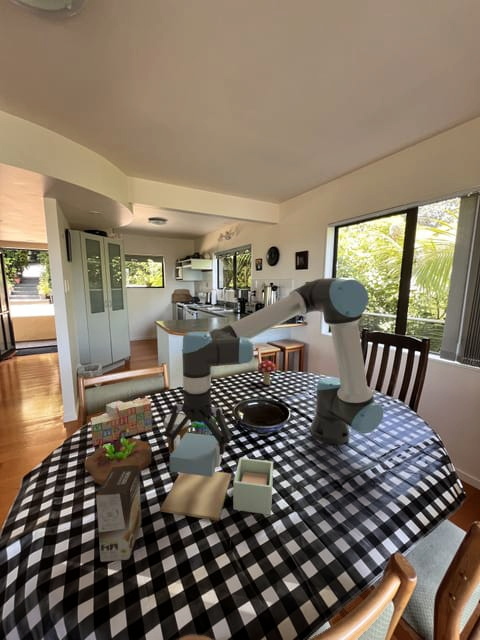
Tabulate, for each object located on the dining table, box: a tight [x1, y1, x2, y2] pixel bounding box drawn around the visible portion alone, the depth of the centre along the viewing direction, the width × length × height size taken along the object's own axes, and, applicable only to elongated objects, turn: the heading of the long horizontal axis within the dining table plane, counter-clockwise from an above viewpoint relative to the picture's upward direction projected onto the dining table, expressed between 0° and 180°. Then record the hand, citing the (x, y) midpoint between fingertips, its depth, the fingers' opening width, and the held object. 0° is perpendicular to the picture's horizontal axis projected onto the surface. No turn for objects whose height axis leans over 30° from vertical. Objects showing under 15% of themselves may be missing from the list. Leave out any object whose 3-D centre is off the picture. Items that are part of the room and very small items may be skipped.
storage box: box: [232, 457, 274, 516], centre depth 74 cm, size 10×10×8 cm
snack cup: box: [189, 416, 218, 436], centre depth 103 cm, size 11×8×7 cm
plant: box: [84, 429, 152, 486], centre depth 88 cm, size 20×20×11 cm
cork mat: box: [159, 470, 232, 521], centre depth 76 cm, size 16×16×1 cm
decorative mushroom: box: [257, 359, 277, 386], centre depth 157 cm, size 11×11×15 cm
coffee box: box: [95, 465, 142, 562], centre depth 60 cm, size 9×6×16 cm
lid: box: [169, 432, 218, 477], centre depth 74 cm, size 12×12×4 cm
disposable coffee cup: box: [163, 411, 191, 454], centre depth 95 cm, size 10×10×12 cm
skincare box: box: [105, 400, 125, 414], centre depth 116 cm, size 6×6×7 cm
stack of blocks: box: [90, 397, 153, 447], centre depth 103 cm, size 21×6×12 cm, turn 124°
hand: (197, 461), depth 74 cm, fingers closed on lid, 12 cm apart
